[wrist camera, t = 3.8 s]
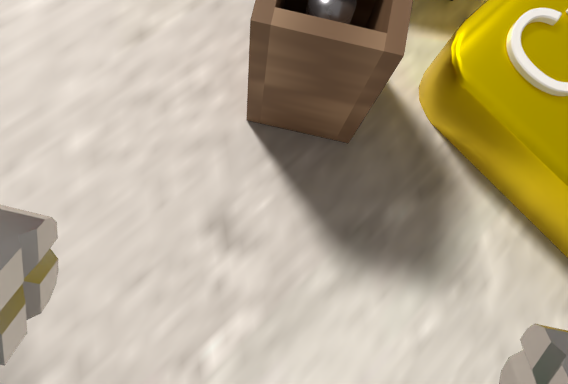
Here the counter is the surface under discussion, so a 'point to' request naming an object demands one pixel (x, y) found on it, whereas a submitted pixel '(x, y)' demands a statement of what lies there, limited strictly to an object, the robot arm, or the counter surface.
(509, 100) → the element tile
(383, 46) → the walnut tube
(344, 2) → the metal post
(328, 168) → the counter surface
